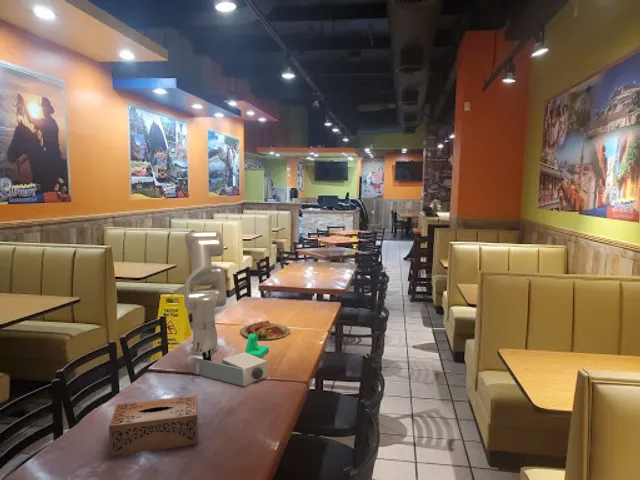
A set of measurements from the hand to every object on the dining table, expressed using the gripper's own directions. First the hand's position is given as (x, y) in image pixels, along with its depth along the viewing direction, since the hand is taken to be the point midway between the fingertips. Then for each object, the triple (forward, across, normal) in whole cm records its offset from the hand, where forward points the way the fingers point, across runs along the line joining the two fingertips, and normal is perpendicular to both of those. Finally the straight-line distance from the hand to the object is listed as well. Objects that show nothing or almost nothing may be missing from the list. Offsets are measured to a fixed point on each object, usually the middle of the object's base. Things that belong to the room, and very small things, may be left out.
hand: (207, 364), depth 199 cm
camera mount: (+5, -29, +6) cm, 30 cm away
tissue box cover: (+4, +47, +20) cm, 52 cm away
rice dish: (+5, -59, -10) cm, 60 cm away
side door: (+4, +3, +9) cm, 10 cm away
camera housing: (+4, -6, +16) cm, 17 cm away
